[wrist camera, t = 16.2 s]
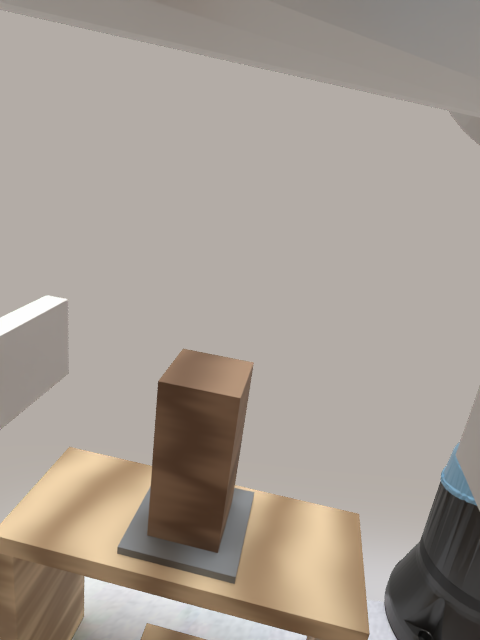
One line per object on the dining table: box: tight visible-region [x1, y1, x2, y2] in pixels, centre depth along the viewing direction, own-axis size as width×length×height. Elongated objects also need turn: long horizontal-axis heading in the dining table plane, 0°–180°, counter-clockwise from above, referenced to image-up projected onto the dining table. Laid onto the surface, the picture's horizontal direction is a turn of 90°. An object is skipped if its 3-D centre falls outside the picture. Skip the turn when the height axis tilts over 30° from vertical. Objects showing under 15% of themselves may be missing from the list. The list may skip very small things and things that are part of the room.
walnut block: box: [147, 349, 253, 553], centre depth 31 cm, size 5×5×12 cm
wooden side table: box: [0, 447, 369, 640], centre depth 37 cm, size 25×10×21 cm, turn 80°
